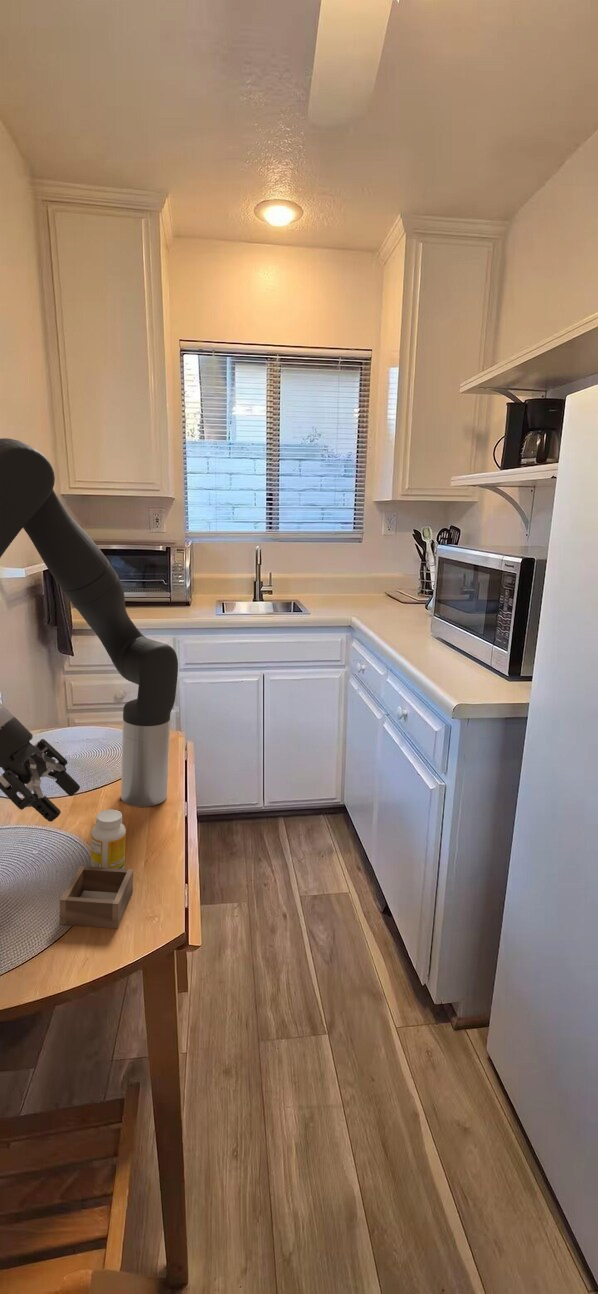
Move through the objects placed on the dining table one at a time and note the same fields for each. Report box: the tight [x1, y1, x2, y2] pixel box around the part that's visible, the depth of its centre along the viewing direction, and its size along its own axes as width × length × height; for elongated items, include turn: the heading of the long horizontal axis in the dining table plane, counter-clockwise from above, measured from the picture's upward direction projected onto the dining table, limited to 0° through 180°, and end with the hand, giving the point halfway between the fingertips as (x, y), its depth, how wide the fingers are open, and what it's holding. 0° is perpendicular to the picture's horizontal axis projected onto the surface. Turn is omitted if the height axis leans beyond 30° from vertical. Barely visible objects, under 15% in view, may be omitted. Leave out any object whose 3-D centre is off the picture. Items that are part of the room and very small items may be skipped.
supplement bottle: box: [90, 809, 127, 869], centre depth 97 cm, size 5×5×10 cm
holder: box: [59, 865, 134, 929], centre depth 88 cm, size 8×8×4 cm
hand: (66, 804), depth 95 cm, fingers open, 8 cm apart
